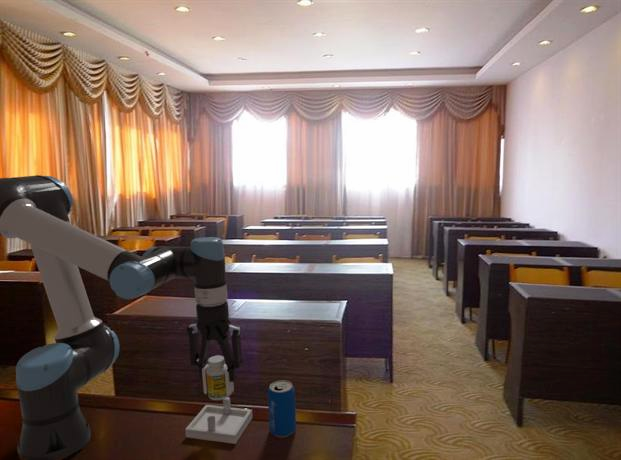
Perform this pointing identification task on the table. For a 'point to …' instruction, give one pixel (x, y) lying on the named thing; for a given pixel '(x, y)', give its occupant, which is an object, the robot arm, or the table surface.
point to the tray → (219, 423)
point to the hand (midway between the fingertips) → (219, 391)
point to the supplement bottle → (216, 378)
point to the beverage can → (282, 408)
